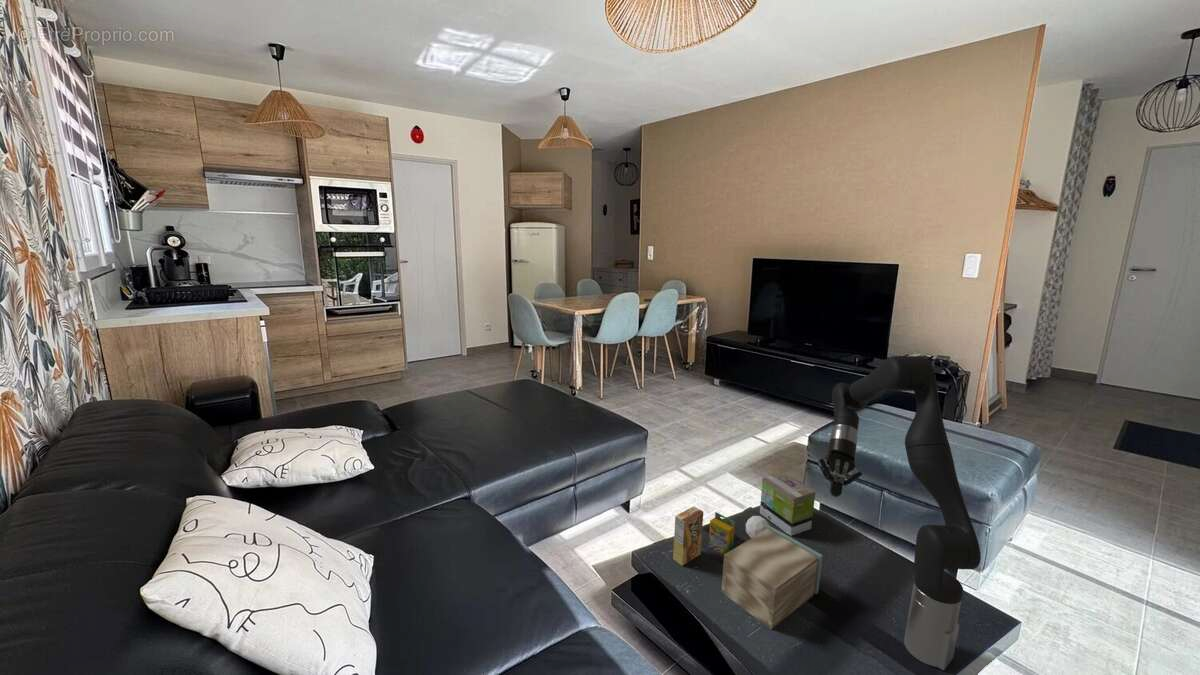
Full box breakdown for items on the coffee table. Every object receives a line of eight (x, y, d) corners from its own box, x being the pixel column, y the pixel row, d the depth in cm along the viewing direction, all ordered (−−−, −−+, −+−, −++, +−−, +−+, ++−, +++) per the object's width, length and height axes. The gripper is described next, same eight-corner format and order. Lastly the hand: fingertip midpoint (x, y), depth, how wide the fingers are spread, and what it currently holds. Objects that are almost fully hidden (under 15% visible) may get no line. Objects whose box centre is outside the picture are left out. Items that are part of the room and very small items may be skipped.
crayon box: (707, 547, 152) (709, 515, 149) (713, 543, 154) (715, 511, 151) (727, 558, 147) (730, 525, 144) (732, 554, 149) (735, 521, 146)
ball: (761, 543, 158) (777, 527, 157) (756, 548, 151) (773, 531, 150) (743, 525, 162) (759, 509, 160) (738, 529, 155) (754, 512, 154)
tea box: (758, 513, 170) (761, 476, 167) (779, 507, 175) (782, 471, 172) (790, 537, 157) (794, 497, 154) (812, 530, 161) (816, 490, 158)
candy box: (691, 548, 151) (693, 505, 148) (701, 554, 148) (704, 511, 145) (672, 559, 146) (674, 515, 143) (682, 566, 143) (685, 521, 139)
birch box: (813, 595, 132) (818, 557, 129) (771, 629, 120) (775, 588, 118) (764, 563, 144) (767, 528, 142) (721, 592, 133) (724, 554, 130)
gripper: (825, 431, 145) (816, 485, 138) (870, 446, 143) (864, 502, 135) (817, 438, 152) (808, 490, 145) (859, 452, 149) (852, 506, 142)
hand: (835, 495), depth 140 cm, fingers closed
